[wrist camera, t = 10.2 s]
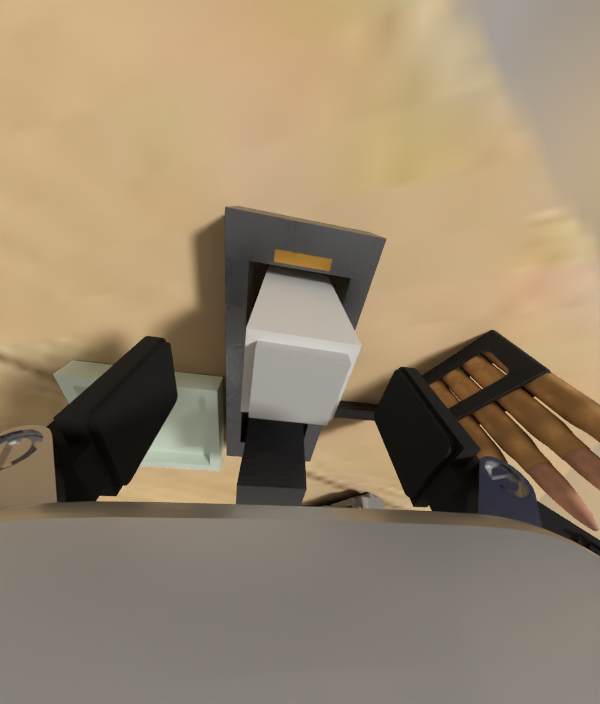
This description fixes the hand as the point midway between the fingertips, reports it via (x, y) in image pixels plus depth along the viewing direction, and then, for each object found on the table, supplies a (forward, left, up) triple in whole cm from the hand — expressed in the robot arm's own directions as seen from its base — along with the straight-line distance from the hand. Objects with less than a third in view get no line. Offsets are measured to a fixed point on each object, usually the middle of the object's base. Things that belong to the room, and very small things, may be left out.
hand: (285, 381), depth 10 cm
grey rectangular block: (+1, 0, -8) cm, 8 cm away
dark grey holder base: (-4, -4, -8) cm, 10 cm away
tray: (-13, +11, -8) cm, 19 cm away
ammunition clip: (-4, -14, -9) cm, 17 cm away
